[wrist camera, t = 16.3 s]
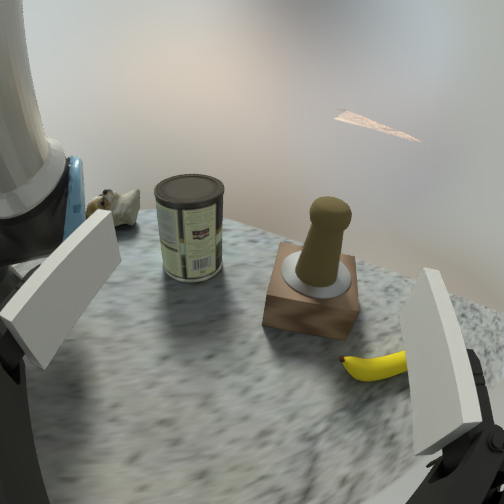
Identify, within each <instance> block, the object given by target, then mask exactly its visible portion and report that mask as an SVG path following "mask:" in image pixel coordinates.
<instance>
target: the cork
mask: <svg viewBox="0 0 504 504" xmlns="http://www.w3.org/2000/svg"><path fill="white" fill-rule="evenodd" d="M351 217H352V213H351V210H350V207H349V206H348V204H347V203H345V202H344V201H342V200H340V199H337V198H334V197H320V198H318V199H316V200H315V201H314V202H313V204H312V206H311V208H310V220H311V222H312V224H311V227H310V230H309V232H308V235H307V238H306V241H305V243H304V246H303V248H302V251H301V254H300V256H299V259H298V262H297V264H296V267H295V273H296V275H297V277H298V278H299V279H300V280H301V281H302V282H304V283H306V284H307V285H310V286H313V287H328V286H330V285H333V284H334V283H335V282H336V279H337V275H338V269H339V262H340V254H341V247H342V239H343V231H344V230H345V229H346V228H347V227H348V226H349V224H350V221H351Z"/></svg>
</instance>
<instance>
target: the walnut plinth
mask: <svg viewBox="0 0 504 504" xmlns="http://www.w3.org/2000/svg"><path fill="white" fill-rule="evenodd" d="M302 248H303V246H298V245H293V244H287V243H282V242H280V245H279V249H278V253H277V256H276V260H275V264H274V268H273V272H272V276H271V280H270V283H269V287H268V291H267V295H266V302H265V308H264V315H263V321H262V325H264V326H269V327H274V328H279V329H284V330H289V331H294V332H300V333H305V334H311V335H316V336H322V337H328V338H334V339H340V340H346V339H347V336H348V334H349V332H350V330H351V328H352V326H353V324H354V321H355V319H356V317H357V315H358V313H359V303H358V288H357V275H356V264H355V257H354V256H350V255H345V254H340V262H339V269H338V275H337V279H336V282H335V283H334V284H333V285H330V286H328V287H313V286H310V285H307V284H306V283H304V282H302V281H301V280H300V279H299V278H298V277H297V275H296V273H295V267H296V264H297V262H298V259H299V256H300V254H301V251H302Z"/></svg>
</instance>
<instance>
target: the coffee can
mask: <svg viewBox="0 0 504 504" xmlns="http://www.w3.org/2000/svg"><path fill="white" fill-rule="evenodd" d="M154 194H155V198H156V208H157V217H158V226H159V235H160V243H161V251H162V259H163V268H164V271H165V272H166V274H167V275H168V276H170V277H171V278H173V279H175V280H178V281H181V282H187V283H195V282H201V281H205V280H207V279H210V278H212V277H213V276H215V275H216V274H217V273H218V272H219V271H220V269H221V267H222V220H223V194H224V185H223V183H222V182H221V181H220V180H218V179H216V178H214V177H211V176H207V175H200V174H184V175H178V176H173V177H170V178H167V179H165V180H163V181H161V182H160V183H158V184H157V185H156V187H155V188H154Z"/></svg>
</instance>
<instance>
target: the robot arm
mask: <svg viewBox="0 0 504 504" xmlns="http://www.w3.org/2000/svg"><path fill="white" fill-rule="evenodd" d="M46 257H48V258H47V259H46V260H45V261H44V262H43V263H42V264H39V265H38V266H36V267H35V268H33V269H32V270H30V271H29V272H28V273H27V274H26V275H25V276H24V277H23V278H22V277H21V276H20V275H19V273H18V272H17V271H16V270H15V269H14V268H13V267H12V266H11V265H13V264H18V263H22V262H27V261H31V260H36V259H40V258H46ZM120 262H121V257H120V252H119V247H118V242H117V238H116V233H115V227H114V222H113V217H112V211H107V210H101V209H98V210H97V211H95V212H94V213H93V214H92V215H91V216H90V217H89V218H88V219H87V220H86V213H85V195H84V177H83V164H82V160H81V158H79V157H73V156H69V157H68V158H67V159H66V157H65V153H64V150H63V148H62V146H61V145H60V143H59V142H57V141H56V140H55V139H53V138H51V137H47V136H46V135H45V132H44V128H43V125H42V121H41V117H40V113H39V109H38V105H37V100H36V96H35V91H34V86H33V81H32V76H31V71H30V65H29V59H28V53H27V46H26V38H25V29H24V18H23V5H22V0H0V504H50V503H49V500H48V497H47V493H46V490H45V486H44V483H43V479H42V475H41V472H40V467H39V463H38V459H37V454H36V450H35V445H34V439H33V434H32V428H31V422H30V415H29V407H28V398H27V388H26V375H25V364H24V360H23V359H22V358H23V356H24V355H25V354H26V356H27V357H28V358H29V360H30V361H31V362H32V363H33V364H35V365H37V366H38V367H40V368H42V369H44V370H45V369H46V368H47V366H48V365H49V363H50V361H51V360H52V358H53V357H54V355H55V354H56V352H57V350H58V349H59V347H60V346H61V344H62V343H63V341H64V340H65V338H66V337H67V335H68V334H69V332H70V331H71V329H72V328H73V326H74V325H75V323H76V322H77V321H78V319H79V318H80V316H81V315H82V313H83V312H84V311H85V309H86V308H87V306H88V305H89V304H90V302H91V301H92V299H93V298H94V297H95V295H96V294H97V293H98V291H99V290H100V288H101V287H102V286H103V284H104V283H105V282H106V280H107V279H108V278H109V276H110V275H111V274H112V273H113V271H114V270H115V269H116V267H117V266H118V265H119V264H120ZM399 318H400V324H401V329H402V335H403V341H404V348H405V354H406V361H407V369H408V377H409V385H410V395H411V406H412V418H413V435H414V456H418V455H432V454H434V453H436V452H437V451H439V450H440V449H442V452H443V455H442V456H440V457H439V458H437V459H435V460H433V461H431V462H430V463H429V464H428V465H427V466H426V467H427V468H428V467H430V466H432V465H434V464H435V465H434V466H433V467H432V469H431V470H430V472H429V473H428V475H427V476H426V477H425V479H424V480H423V482H422V483H421V484H420V486H419V487H418V489H417V490H416V491H415V492H414V494H413V495H412V496H411V497H410V499H409V500H408V501H407V503H406V504H504V490H503V491H502V492H500V488H501V485H502V484H504V430H503V429H502V428H501V427H500V426H498V425H495V424H494V421H493V416H492V410H491V405H490V401H489V396H488V391H487V387H486V386H485V379H484V376H483V371H482V367H481V364H480V361H479V359H478V357H477V356H476V354H475V352H474V351H473V349H466V347H465V343H464V340H463V337H462V333H461V330H460V327H459V324H458V321H457V318H456V315H455V312H454V309H453V306H452V303H451V301H450V298H449V295H448V292H447V290H446V287H445V284H444V282H443V279H442V277H441V274H440V272H439V271H438V270H434V269H429V268H423V270H422V272H421V274H420V276H419V278H418V280H417V282H416V284H415V286H414V288H413V289H412V291H411V293H410V295H409V297H408V299H407V301H406V302H405V304H404V306H403V308H402V310H401V311H400V313H399Z"/></svg>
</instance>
